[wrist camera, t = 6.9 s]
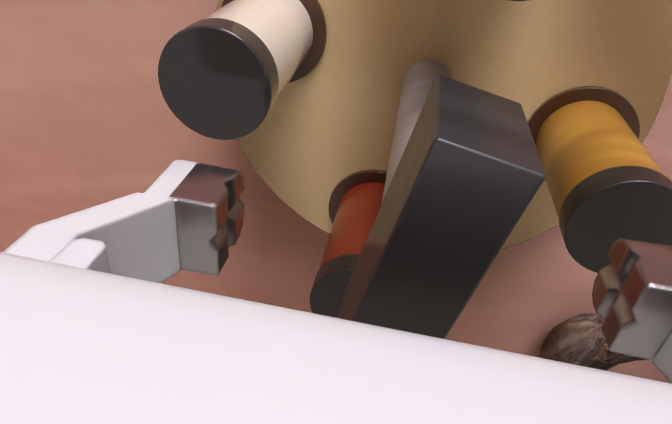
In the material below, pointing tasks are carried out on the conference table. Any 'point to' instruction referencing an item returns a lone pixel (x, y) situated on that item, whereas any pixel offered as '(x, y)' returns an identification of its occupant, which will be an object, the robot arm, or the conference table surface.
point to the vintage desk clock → (582, 344)
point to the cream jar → (234, 65)
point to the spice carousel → (465, 143)
